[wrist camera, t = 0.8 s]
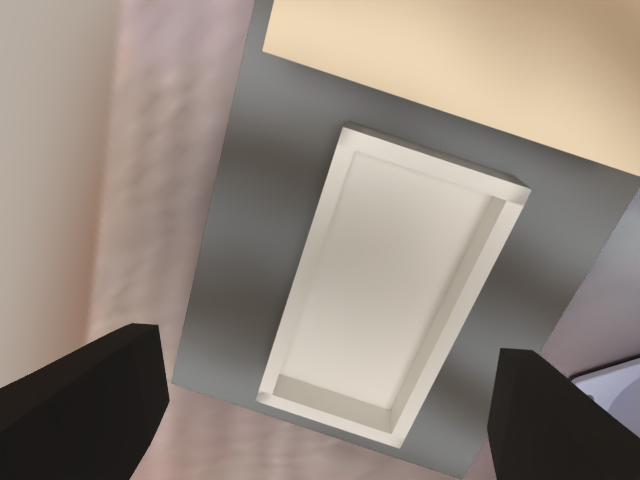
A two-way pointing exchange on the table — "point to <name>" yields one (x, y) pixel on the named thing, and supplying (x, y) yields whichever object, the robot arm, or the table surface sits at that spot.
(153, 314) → the table surface
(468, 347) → the overhang board
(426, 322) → the tray shell
